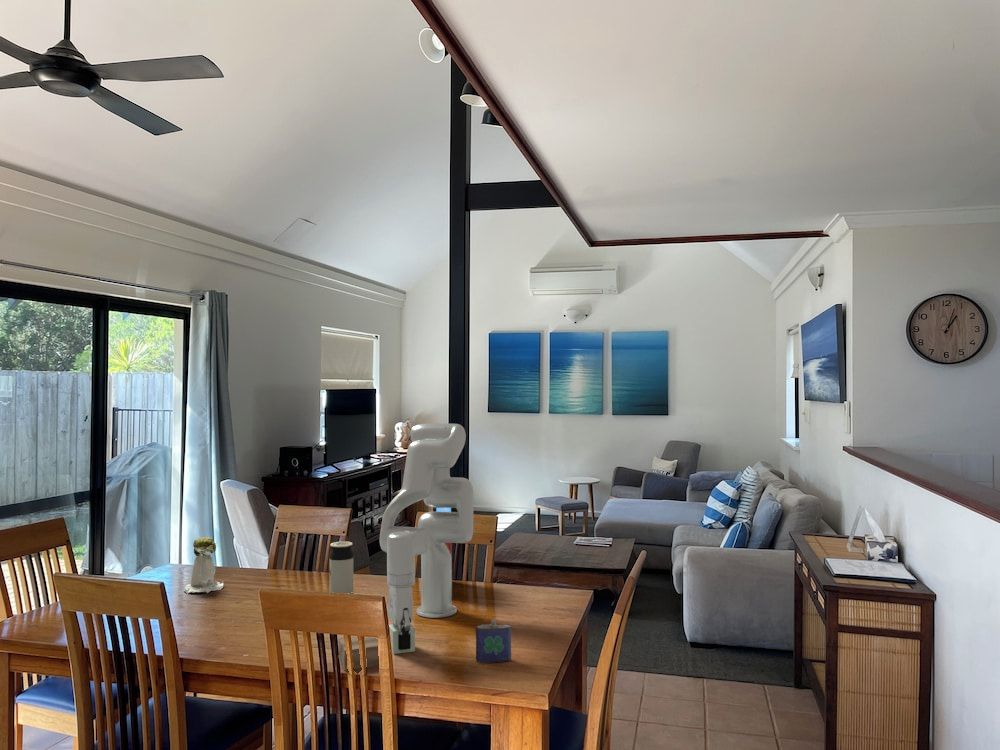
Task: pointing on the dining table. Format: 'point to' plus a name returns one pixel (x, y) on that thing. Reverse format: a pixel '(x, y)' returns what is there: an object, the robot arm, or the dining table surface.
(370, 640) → the walnut block
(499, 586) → the dining table surface
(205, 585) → the white figurine
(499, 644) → the flask
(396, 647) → the sage block
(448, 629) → the dining table surface
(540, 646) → the dining table surface
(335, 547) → the travel mug
